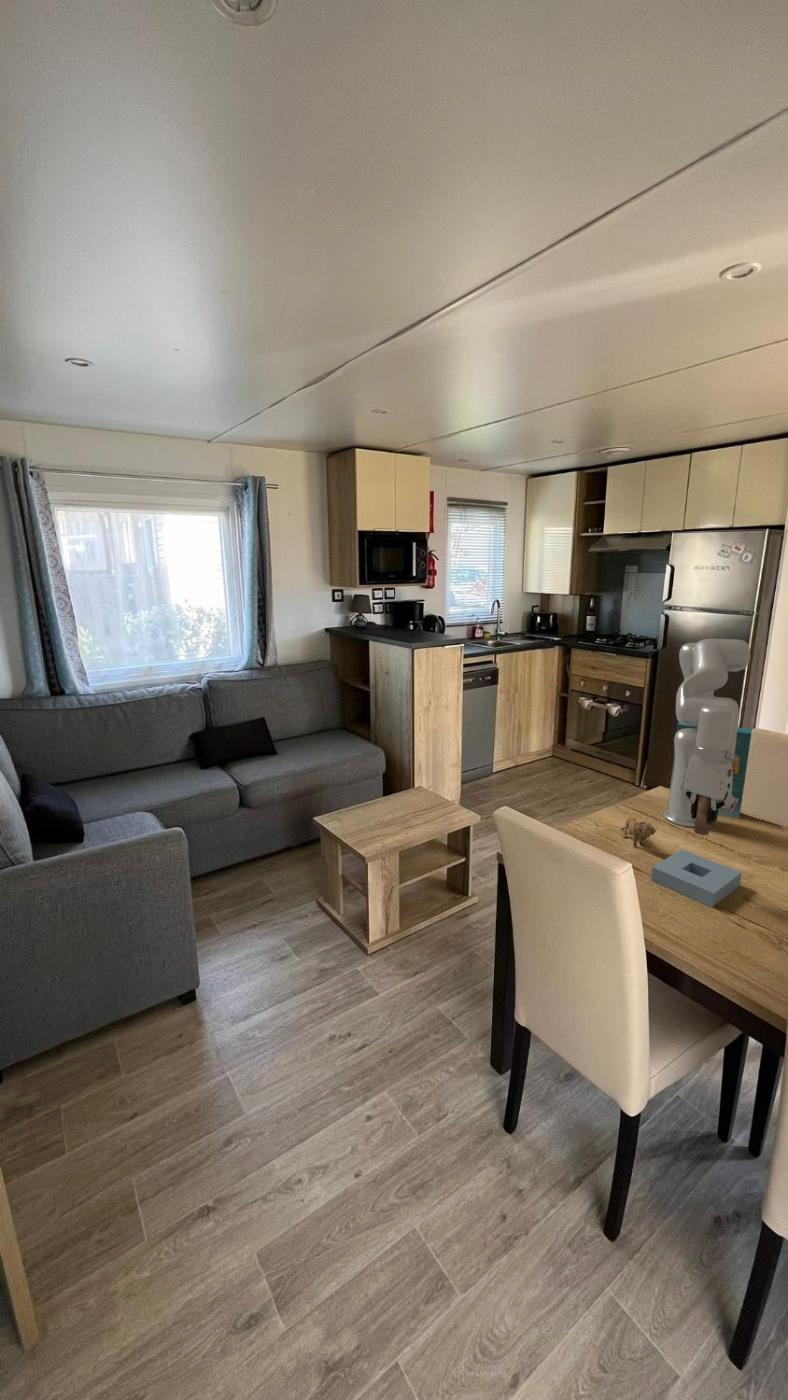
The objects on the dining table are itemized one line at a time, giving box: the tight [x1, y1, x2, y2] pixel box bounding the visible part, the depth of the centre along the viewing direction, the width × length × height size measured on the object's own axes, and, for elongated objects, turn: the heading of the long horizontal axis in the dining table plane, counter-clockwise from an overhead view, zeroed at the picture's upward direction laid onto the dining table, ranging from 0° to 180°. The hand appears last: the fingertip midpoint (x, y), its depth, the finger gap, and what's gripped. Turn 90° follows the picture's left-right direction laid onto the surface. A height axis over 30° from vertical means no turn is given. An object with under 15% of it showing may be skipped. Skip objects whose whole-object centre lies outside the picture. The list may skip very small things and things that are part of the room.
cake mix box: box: [668, 721, 753, 819], centre depth 195 cm, size 22×6×30 cm, turn 57°
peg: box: [693, 795, 711, 836], centre depth 148 cm, size 3×3×12 cm
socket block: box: [650, 849, 742, 908], centre depth 152 cm, size 16×16×4 cm
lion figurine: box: [620, 816, 657, 849], centre depth 175 cm, size 15×5×9 cm, turn 11°
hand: (703, 819), depth 148 cm, fingers closed on peg, 3 cm apart
